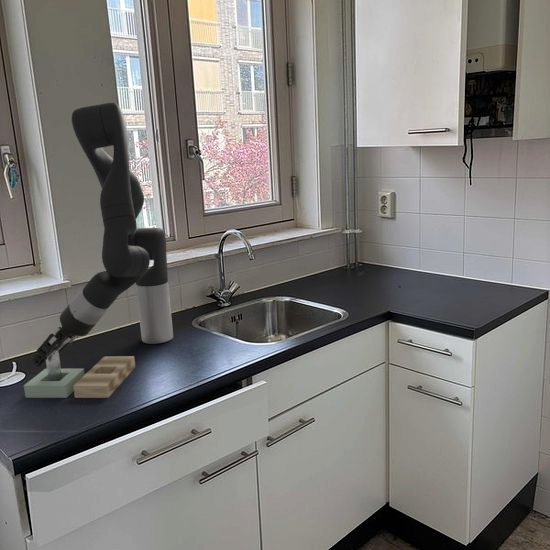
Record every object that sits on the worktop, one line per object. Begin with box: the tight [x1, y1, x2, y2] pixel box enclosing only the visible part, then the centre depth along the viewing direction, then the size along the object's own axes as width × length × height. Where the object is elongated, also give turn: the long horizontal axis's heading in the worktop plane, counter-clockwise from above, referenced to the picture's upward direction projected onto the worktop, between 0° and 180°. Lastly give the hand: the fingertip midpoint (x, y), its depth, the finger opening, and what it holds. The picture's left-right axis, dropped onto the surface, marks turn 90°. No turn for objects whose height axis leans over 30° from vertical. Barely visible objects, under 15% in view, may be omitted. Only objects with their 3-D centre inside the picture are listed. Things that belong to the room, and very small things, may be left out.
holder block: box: [23, 368, 86, 399], centre depth 134 cm, size 10×10×3 cm
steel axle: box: [45, 345, 62, 381], centre depth 133 cm, size 3×3×12 cm
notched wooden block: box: [73, 355, 136, 399], centre depth 136 cm, size 18×8×3 cm, turn 174°
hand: (46, 357), depth 132 cm, fingers open, 8 cm apart
